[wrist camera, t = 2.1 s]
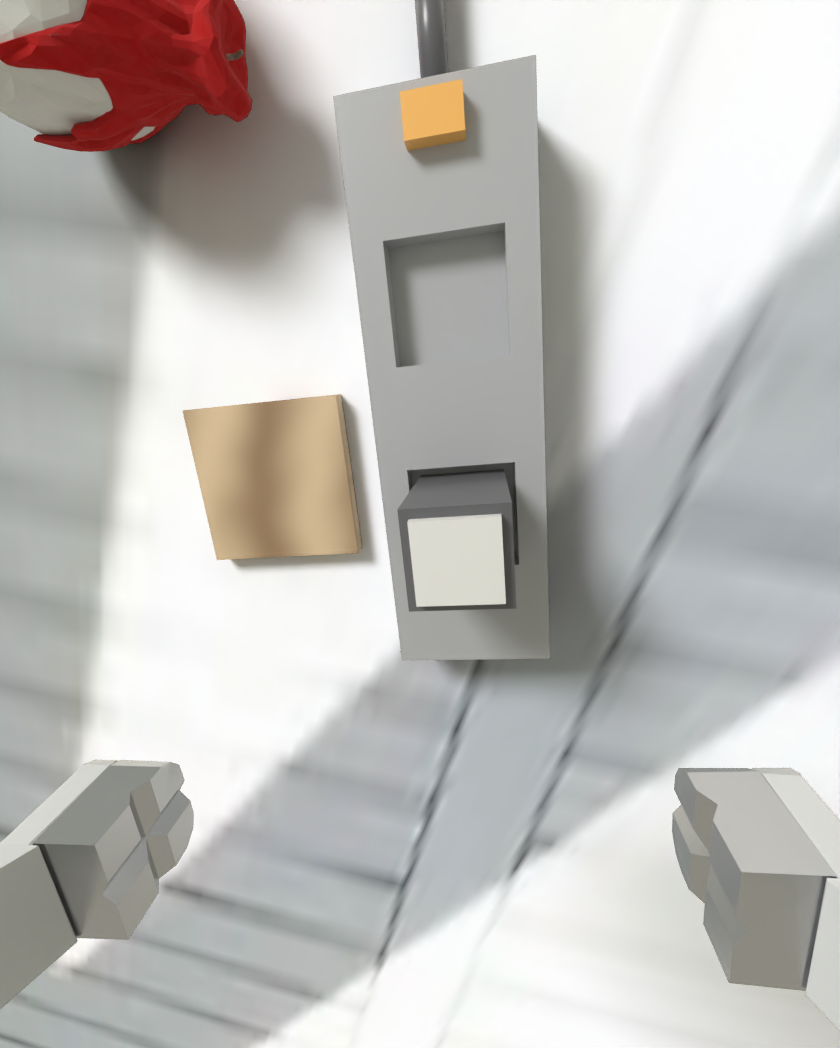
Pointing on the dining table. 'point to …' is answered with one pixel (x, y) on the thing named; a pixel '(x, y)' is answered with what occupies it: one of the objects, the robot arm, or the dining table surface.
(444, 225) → the power strip
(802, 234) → the dining table surface
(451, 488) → the block
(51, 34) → the white red lumpy piece
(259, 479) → the cork coaster
